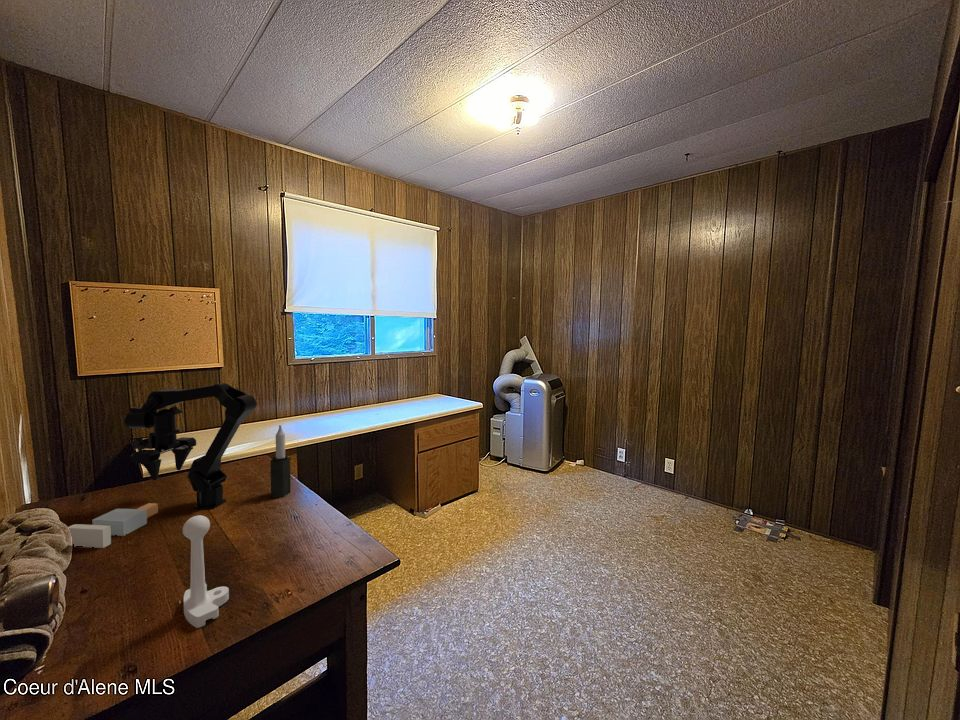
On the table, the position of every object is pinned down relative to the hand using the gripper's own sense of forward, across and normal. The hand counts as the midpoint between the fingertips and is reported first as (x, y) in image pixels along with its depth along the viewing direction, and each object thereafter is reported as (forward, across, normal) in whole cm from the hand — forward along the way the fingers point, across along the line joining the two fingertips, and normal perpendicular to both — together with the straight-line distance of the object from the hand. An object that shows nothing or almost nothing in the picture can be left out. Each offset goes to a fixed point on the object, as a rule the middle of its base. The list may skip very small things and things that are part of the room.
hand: (167, 474), depth 124 cm
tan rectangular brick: (+10, +9, 0) cm, 13 cm away
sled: (+10, +16, 0) cm, 19 cm away
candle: (+11, -11, +32) cm, 35 cm away
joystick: (+11, +44, +48) cm, 66 cm away
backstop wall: (+10, +25, 0) cm, 26 cm away
